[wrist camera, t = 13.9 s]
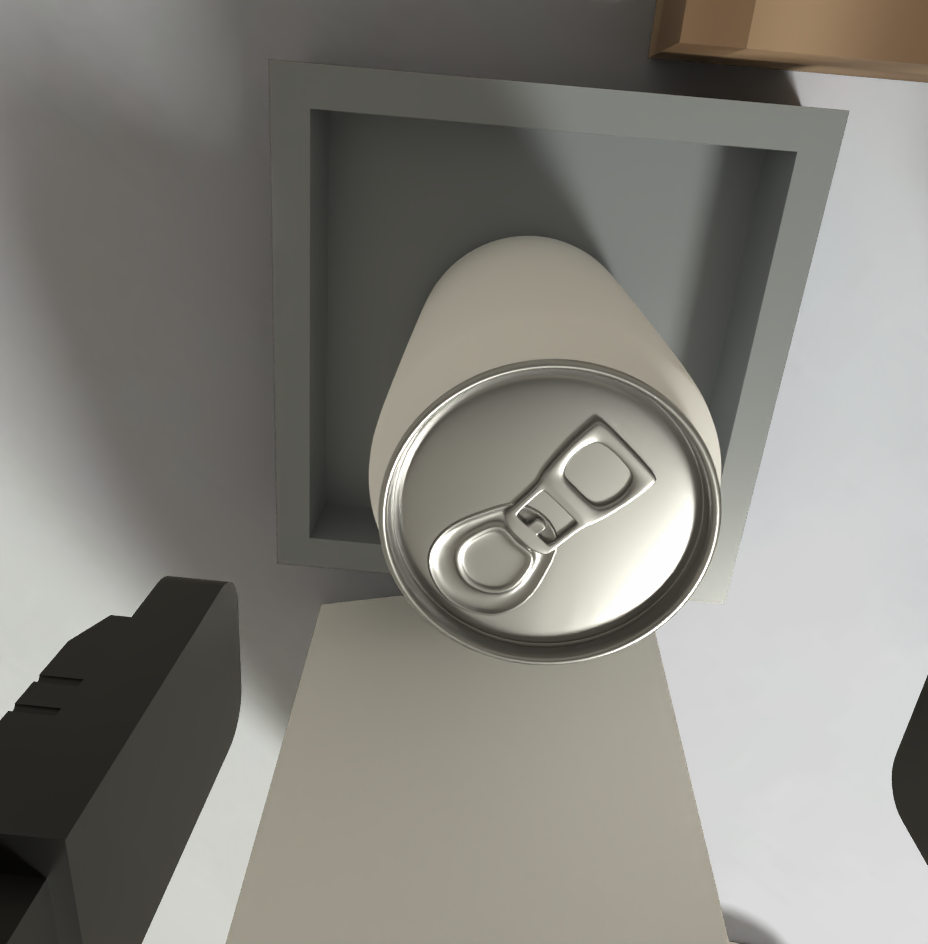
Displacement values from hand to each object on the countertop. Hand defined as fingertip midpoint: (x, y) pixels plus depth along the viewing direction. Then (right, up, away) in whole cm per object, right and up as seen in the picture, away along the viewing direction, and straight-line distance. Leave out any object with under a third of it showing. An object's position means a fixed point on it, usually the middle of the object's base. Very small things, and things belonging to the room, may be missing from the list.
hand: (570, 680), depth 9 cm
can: (+1, +6, +15) cm, 16 cm away
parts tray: (+1, +7, +15) cm, 17 cm away
